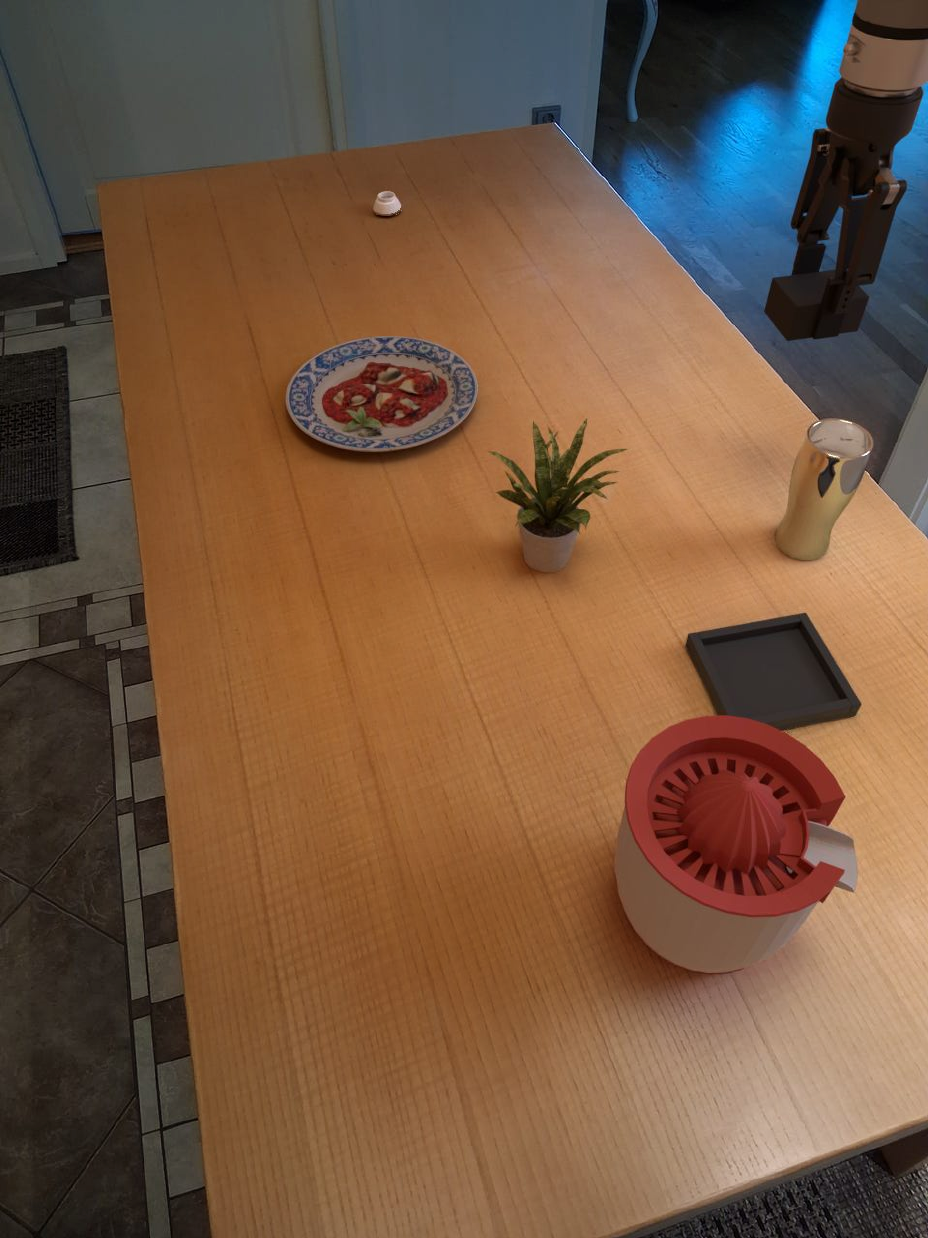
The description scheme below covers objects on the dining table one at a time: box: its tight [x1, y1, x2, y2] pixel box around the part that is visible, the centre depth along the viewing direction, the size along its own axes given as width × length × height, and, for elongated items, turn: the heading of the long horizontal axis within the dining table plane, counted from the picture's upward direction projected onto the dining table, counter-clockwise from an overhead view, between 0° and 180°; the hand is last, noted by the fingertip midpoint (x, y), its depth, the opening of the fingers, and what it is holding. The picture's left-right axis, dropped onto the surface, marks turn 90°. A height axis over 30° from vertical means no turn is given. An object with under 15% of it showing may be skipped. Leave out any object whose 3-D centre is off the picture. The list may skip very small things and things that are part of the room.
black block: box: [763, 269, 870, 342], centre depth 95 cm, size 8×6×4 cm
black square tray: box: [685, 612, 862, 731], centre depth 90 cm, size 13×12×2 cm
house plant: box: [487, 417, 629, 574], centre depth 96 cm, size 14×14×16 cm
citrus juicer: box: [614, 715, 859, 975], centre depth 68 cm, size 16×17×20 cm
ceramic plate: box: [285, 335, 479, 453], centre depth 121 cm, size 26×26×3 cm
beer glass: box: [773, 417, 874, 562], centre depth 97 cm, size 7×7×15 cm
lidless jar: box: [372, 190, 402, 214], centre depth 157 cm, size 5×3×5 cm
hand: (810, 318), depth 96 cm, fingers closed on black block, 6 cm apart
